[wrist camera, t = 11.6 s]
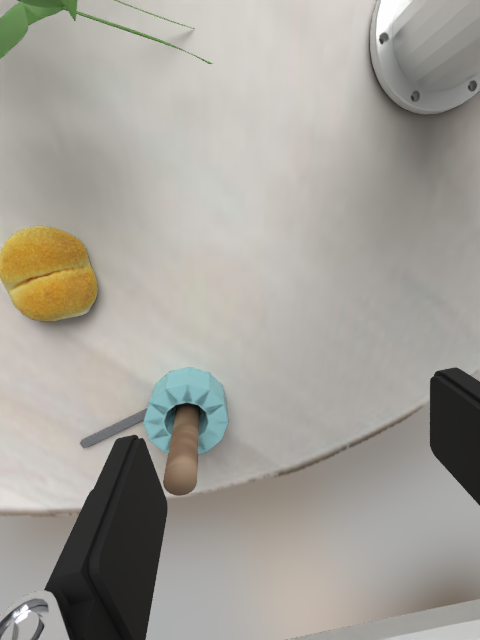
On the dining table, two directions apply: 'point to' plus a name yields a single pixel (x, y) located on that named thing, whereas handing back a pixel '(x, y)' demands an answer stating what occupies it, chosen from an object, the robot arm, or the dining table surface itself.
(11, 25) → the plant cuttings
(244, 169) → the dining table surface
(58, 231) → the bread roll
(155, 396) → the bead
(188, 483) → the round-ended wooden dowel
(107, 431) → the thin grey bar
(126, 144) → the dining table surface
